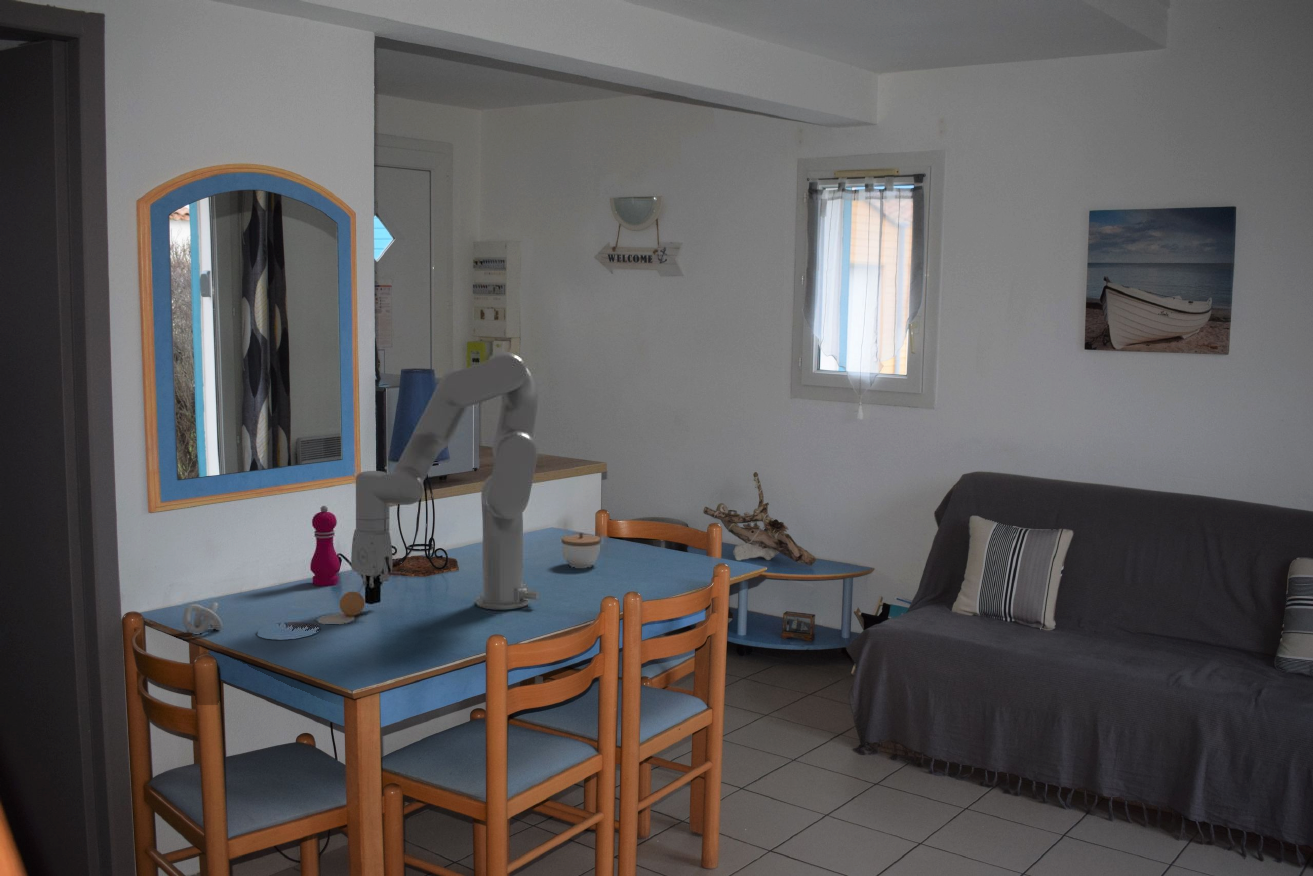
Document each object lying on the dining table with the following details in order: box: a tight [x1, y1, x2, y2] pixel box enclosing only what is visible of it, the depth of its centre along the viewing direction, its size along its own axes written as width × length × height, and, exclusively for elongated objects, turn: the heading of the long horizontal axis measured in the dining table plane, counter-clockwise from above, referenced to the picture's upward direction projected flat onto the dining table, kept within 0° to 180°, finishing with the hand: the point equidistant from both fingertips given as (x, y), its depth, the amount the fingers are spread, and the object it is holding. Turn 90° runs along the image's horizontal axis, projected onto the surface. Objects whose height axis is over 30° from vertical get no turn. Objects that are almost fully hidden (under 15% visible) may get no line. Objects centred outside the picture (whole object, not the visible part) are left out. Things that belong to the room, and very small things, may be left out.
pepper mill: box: [309, 505, 341, 587], centre depth 275 cm, size 7×7×20 cm
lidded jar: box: [561, 531, 602, 569], centre depth 300 cm, size 11×11×9 cm
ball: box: [339, 591, 366, 617], centre depth 247 cm, size 6×6×6 cm
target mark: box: [277, 621, 321, 632], centre depth 235 cm, size 13×13×1 cm
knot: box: [182, 601, 223, 634], centre depth 234 cm, size 8×8×6 cm
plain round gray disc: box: [316, 613, 355, 625], centre depth 244 cm, size 8×8×1 cm
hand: (372, 602), depth 252 cm, fingers closed
